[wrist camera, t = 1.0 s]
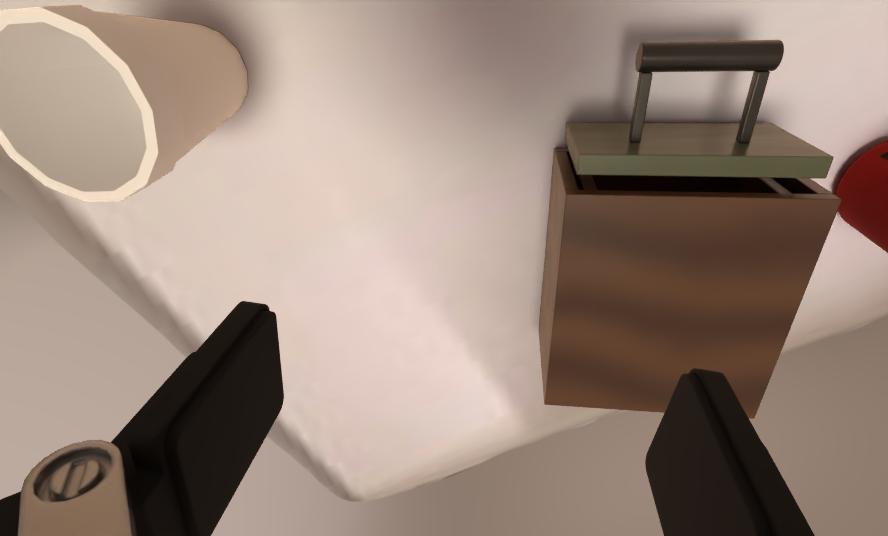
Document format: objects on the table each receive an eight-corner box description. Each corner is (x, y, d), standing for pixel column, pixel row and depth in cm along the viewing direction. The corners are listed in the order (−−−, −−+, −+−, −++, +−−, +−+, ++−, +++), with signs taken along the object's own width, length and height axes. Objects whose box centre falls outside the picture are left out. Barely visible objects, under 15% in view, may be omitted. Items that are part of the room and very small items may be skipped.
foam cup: (269, 149, 38) (167, 218, 27) (153, 126, 38) (3, 185, 27) (266, 12, 33) (140, 26, 22) (133, -14, 33) (-60, -13, 22)
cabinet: (554, 147, 35) (565, 194, 28) (766, 149, 34) (842, 199, 26) (538, 329, 43) (544, 404, 36) (709, 337, 42) (754, 419, 34)
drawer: (574, 35, 31) (590, 48, 25) (799, 31, 29) (876, 44, 23) (549, 306, 41) (555, 363, 35) (714, 313, 39) (752, 375, 33)
